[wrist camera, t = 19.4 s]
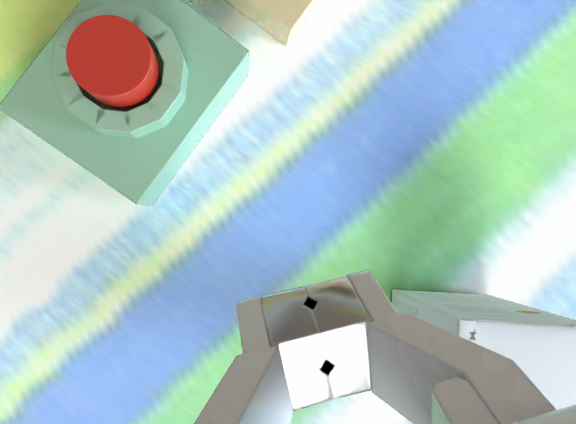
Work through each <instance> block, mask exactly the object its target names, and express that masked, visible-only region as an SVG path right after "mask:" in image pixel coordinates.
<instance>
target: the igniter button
mask: <svg viewBox="0 0 576 424" xmlns="http://www.w3.org/2000/svg"><path fill="white" fill-rule="evenodd" d="M66 61H67V65H68V69H69V71H70V73H71V75H72V77H73V78H74V80H75V81H76V82H77V83H78V84H79V85H80V86H81V87H82V88H83V89H85V90H86V91H87V92H88V93H89V94H91V95H92V96H93V97H94V98H96V99H97V100H98V101H100V102H102V103H104V104H106V105H109V106H113V107H129V106H133V105H136V104H138V103H140V102H142V101H143V100H145V99H146V98H147V97H148V96H149V95H150V94H151V93H152V91H153V90H154V88H155V86H156V84H157V81H158V76H159V65H158V61H157V58H156V55H155V53H154V51H153V49H152V47H151V45H150V43H149V41H148V39H147V38H146V36H145V34H144V33H143V32H142V30H141V29H140V28H139V27H138V26H136V25H135V24H134V23H132V22H131V21H129V20H127V19H125V18H122V17H119V16H115V15H100V16H95V17H92V18H90V19H88V20H86V21H84V22H83V23H81V24H80V25H79V26H78V27H77V28H76V29H75V30H74V32H73V33H72V34H71V36H70V38H69V41H68V44H67V49H66Z"/></svg>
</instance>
